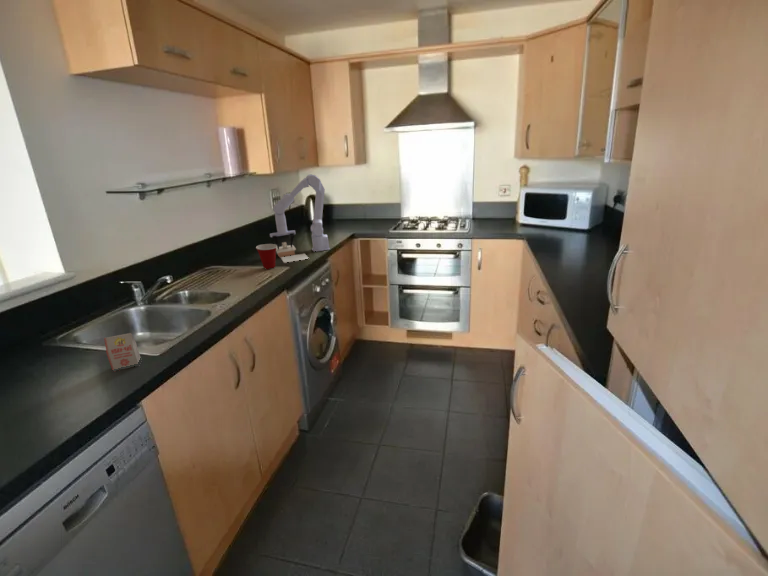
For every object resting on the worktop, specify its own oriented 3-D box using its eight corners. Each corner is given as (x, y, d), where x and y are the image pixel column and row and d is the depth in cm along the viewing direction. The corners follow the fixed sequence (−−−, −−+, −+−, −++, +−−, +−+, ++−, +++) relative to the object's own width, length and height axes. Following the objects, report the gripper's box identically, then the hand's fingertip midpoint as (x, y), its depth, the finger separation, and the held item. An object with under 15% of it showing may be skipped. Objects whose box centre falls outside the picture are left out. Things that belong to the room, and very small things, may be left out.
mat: (304, 254, 236) (304, 253, 236) (309, 259, 224) (309, 258, 223) (280, 257, 231) (280, 257, 231) (284, 263, 219) (284, 262, 219)
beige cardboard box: (116, 365, 119) (106, 335, 116) (141, 360, 121) (132, 330, 118) (112, 371, 116) (102, 340, 112) (138, 366, 118) (129, 335, 114)
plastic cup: (273, 271, 205) (269, 248, 201) (255, 270, 209) (251, 248, 205) (284, 265, 215) (281, 243, 211) (267, 264, 219) (263, 243, 215)
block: (292, 251, 244) (291, 247, 243) (294, 254, 236) (294, 250, 235) (277, 254, 241) (276, 249, 240) (279, 257, 233) (278, 252, 232)
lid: (293, 246, 244) (292, 239, 242) (296, 250, 234) (295, 243, 233) (274, 249, 240) (273, 242, 239) (277, 252, 230) (275, 245, 229)
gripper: (292, 222, 238) (296, 244, 243) (267, 225, 233) (271, 248, 238) (294, 223, 232) (298, 246, 236) (269, 227, 227) (273, 250, 232)
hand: (284, 247), depth 237 cm, fingers open, 7 cm apart
